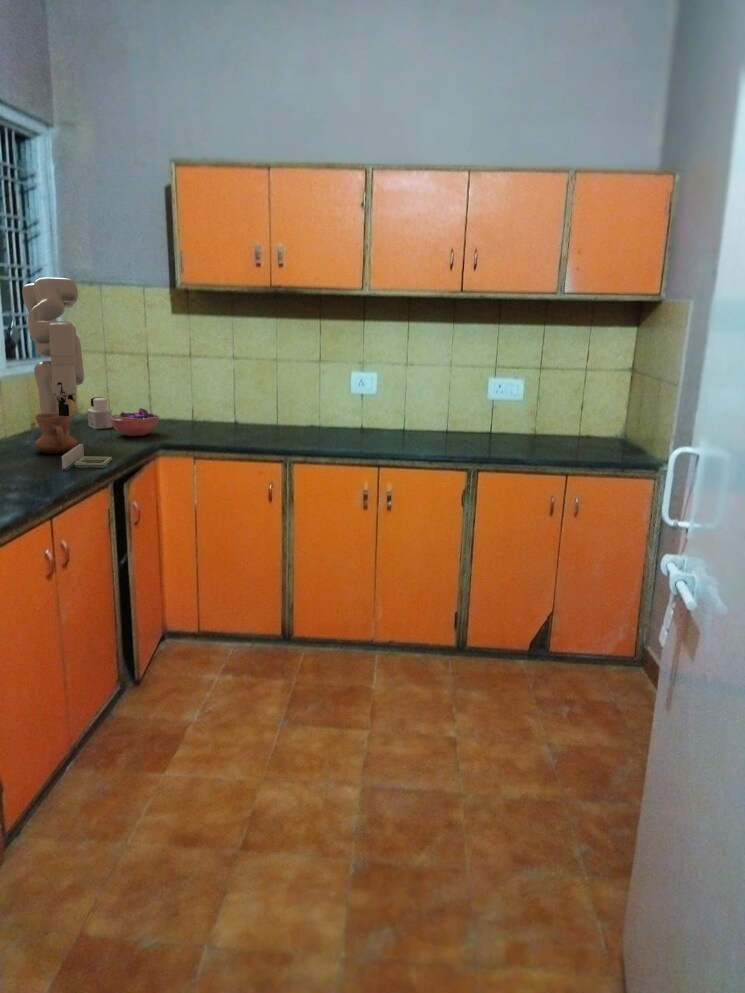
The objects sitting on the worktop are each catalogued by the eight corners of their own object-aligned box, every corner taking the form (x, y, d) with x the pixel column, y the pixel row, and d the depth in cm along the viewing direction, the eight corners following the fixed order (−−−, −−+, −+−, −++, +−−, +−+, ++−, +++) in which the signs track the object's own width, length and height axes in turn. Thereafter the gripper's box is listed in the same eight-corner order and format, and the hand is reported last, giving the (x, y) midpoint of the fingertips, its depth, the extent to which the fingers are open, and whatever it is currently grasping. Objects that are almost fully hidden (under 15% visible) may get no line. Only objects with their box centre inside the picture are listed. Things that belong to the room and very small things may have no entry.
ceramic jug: (32, 449, 258) (29, 411, 254) (73, 446, 266) (71, 409, 262) (39, 459, 244) (35, 420, 240) (82, 456, 251) (79, 417, 247)
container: (88, 426, 304) (86, 397, 300) (105, 424, 309) (103, 396, 305) (95, 429, 298) (93, 399, 295) (112, 427, 303) (110, 398, 300)
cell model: (104, 434, 289) (103, 407, 286) (150, 430, 302) (149, 404, 299) (120, 441, 277) (118, 414, 274) (167, 436, 290) (165, 410, 287)
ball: (61, 414, 236) (60, 397, 235) (79, 415, 237) (78, 397, 235) (55, 417, 231) (53, 399, 229) (73, 418, 231) (72, 400, 229)
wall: (80, 457, 249) (79, 443, 248) (84, 457, 249) (83, 443, 248) (62, 470, 230) (61, 456, 229) (66, 470, 230) (65, 456, 229)
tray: (83, 461, 244) (82, 456, 243) (112, 461, 245) (111, 456, 244) (74, 468, 234) (74, 462, 234) (104, 468, 235) (104, 463, 235)
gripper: (61, 358, 236) (65, 410, 241) (41, 362, 220) (46, 418, 225) (83, 359, 237) (87, 410, 242) (65, 363, 221) (70, 419, 226)
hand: (67, 413), depth 233 cm, fingers closed on ball, 5 cm apart
